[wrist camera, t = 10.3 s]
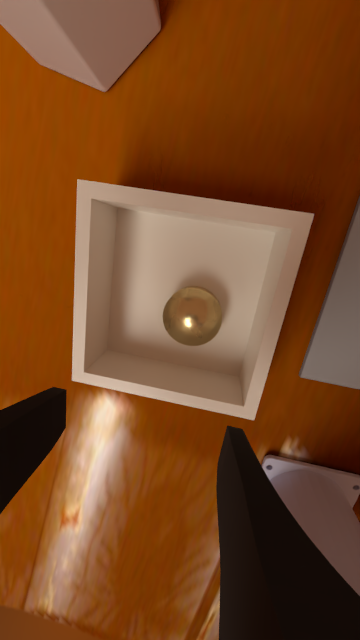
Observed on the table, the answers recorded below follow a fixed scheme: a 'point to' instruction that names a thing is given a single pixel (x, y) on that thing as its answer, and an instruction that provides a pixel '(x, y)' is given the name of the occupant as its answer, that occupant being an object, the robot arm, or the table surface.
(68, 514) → the table surface
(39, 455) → the robot arm
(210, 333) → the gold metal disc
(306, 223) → the box
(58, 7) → the jar
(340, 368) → the lid
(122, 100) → the table surface
